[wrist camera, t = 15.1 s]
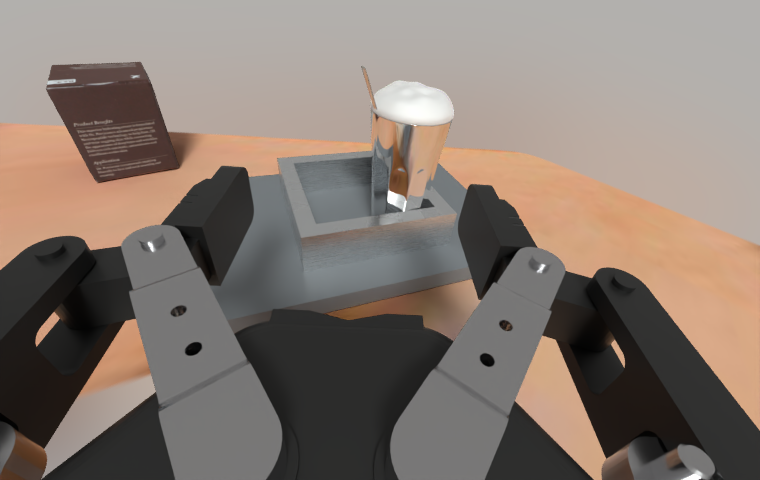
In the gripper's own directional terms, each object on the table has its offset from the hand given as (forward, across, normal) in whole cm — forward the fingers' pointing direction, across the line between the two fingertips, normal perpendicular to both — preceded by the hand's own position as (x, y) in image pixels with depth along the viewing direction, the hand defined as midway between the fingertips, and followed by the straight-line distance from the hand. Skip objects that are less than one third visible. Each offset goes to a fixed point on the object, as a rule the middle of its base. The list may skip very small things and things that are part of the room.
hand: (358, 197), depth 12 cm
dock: (+9, 0, +8) cm, 12 cm away
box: (+17, +20, +8) cm, 27 cm away
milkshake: (+8, -2, +7) cm, 11 cm away
